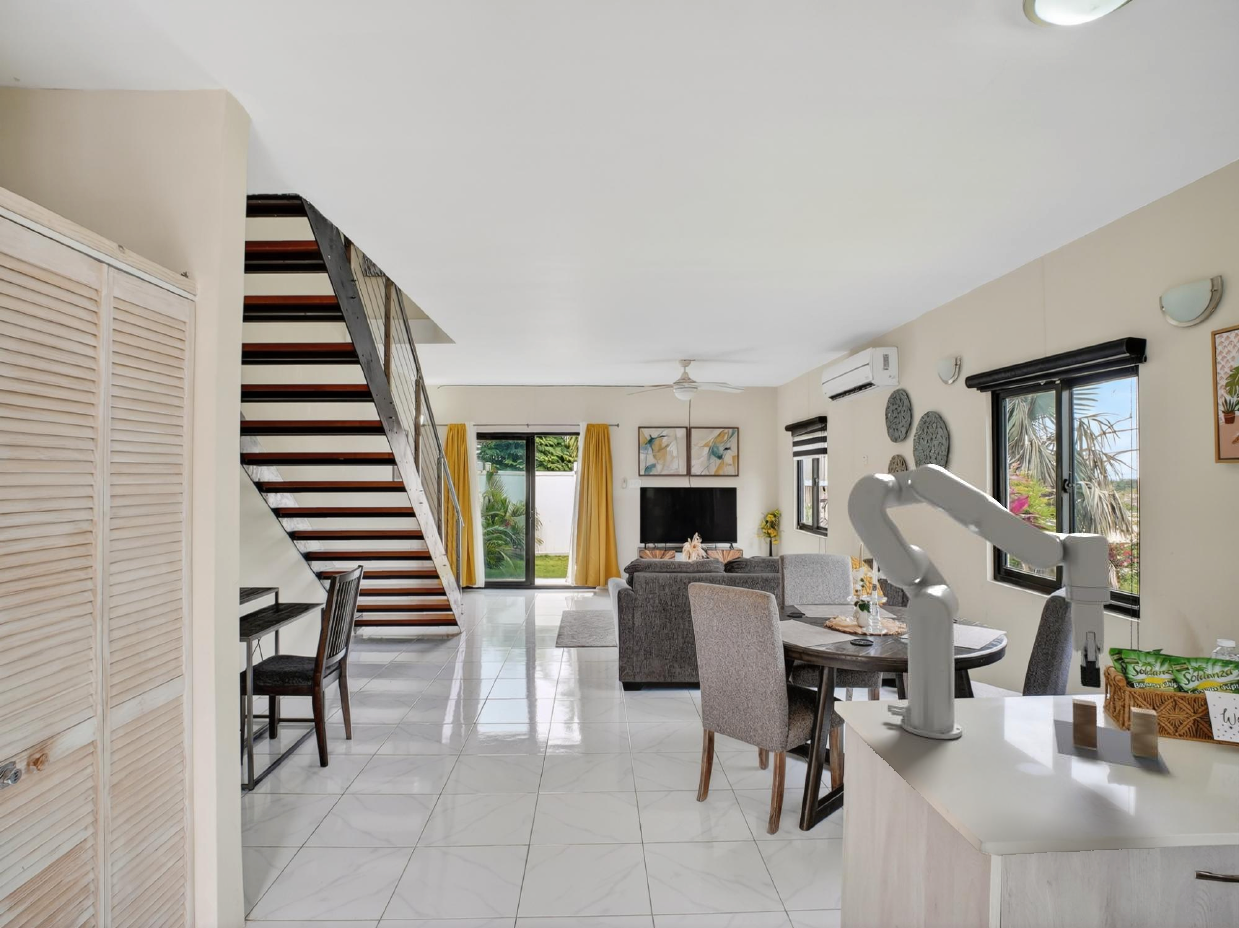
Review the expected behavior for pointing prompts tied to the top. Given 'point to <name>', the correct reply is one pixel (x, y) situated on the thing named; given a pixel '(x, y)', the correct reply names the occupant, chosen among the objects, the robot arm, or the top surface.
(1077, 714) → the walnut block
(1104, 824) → the top surface
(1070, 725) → the rubber mat
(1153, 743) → the oak block
